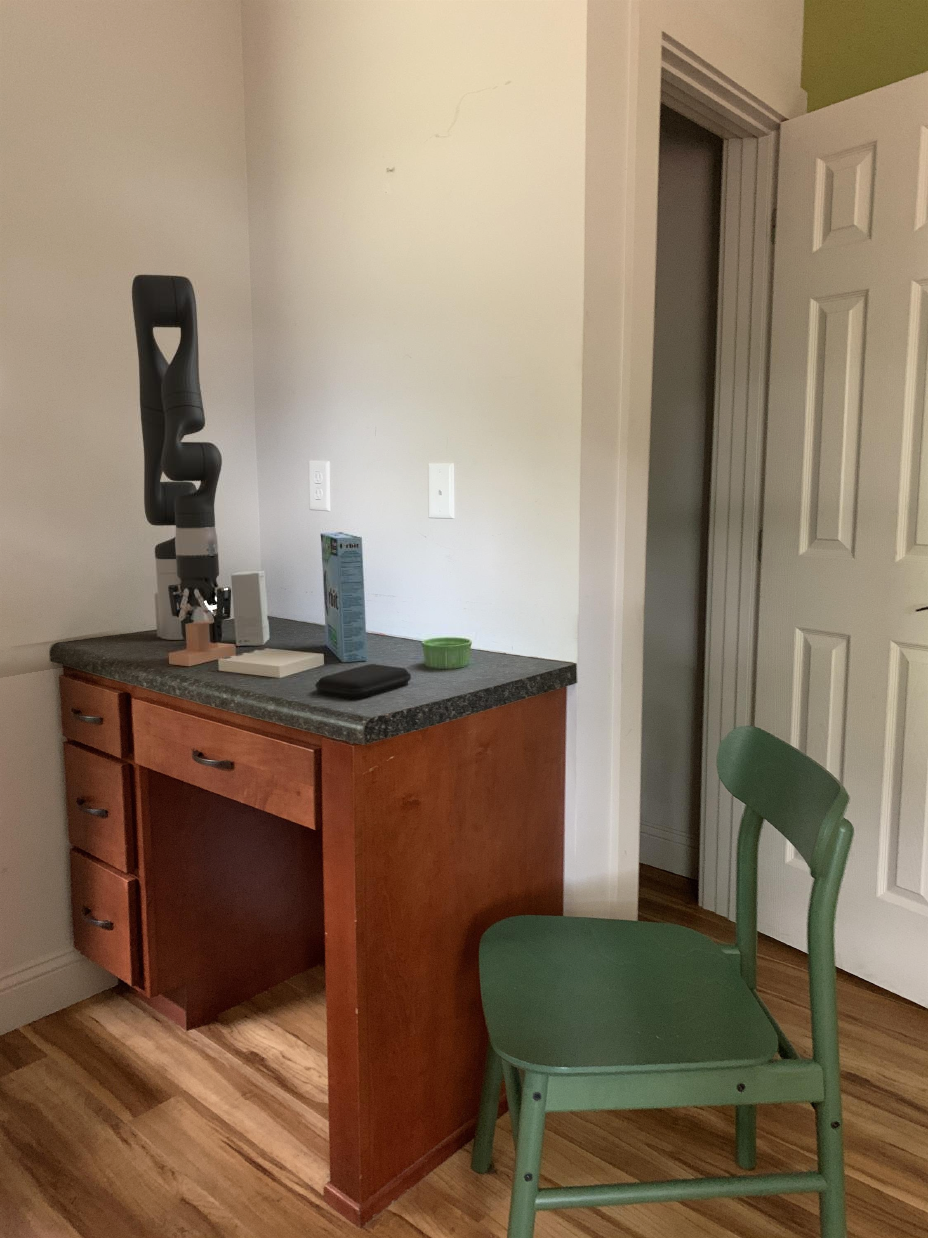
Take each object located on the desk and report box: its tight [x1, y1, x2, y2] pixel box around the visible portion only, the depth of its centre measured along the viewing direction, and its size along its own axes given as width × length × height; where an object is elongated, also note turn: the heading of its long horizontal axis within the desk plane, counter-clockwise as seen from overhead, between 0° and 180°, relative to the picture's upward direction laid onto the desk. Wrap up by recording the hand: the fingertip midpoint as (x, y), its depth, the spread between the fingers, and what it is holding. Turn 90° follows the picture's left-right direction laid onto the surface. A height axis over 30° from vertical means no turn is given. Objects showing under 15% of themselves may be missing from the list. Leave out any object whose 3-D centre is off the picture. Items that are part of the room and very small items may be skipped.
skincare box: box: [230, 570, 270, 647], centre depth 187 cm, size 8×6×15 cm
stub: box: [168, 619, 237, 667], centre depth 170 cm, size 5×12×7 cm, turn 151°
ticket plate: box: [217, 647, 325, 679], centre depth 162 cm, size 14×12×2 cm
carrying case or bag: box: [314, 663, 412, 700], centre depth 145 cm, size 11×3×15 cm
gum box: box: [320, 531, 368, 663], centre depth 173 cm, size 20×5×23 cm, turn 17°
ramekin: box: [421, 636, 473, 670], centre depth 162 cm, size 9×9×4 cm
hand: (202, 640), depth 170 cm, fingers open, 6 cm apart
